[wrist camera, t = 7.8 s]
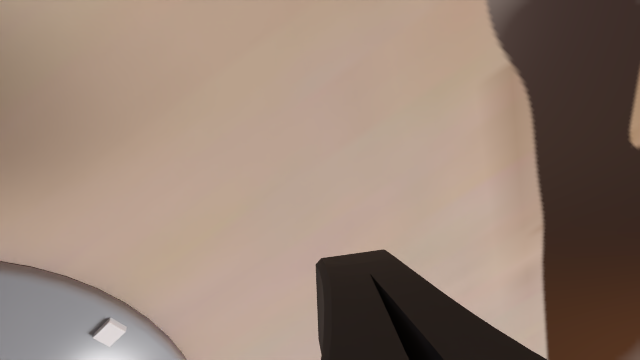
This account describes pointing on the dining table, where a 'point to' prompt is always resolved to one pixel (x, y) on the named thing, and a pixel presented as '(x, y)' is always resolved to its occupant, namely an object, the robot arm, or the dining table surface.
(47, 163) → the dining table surface
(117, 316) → the dial base
